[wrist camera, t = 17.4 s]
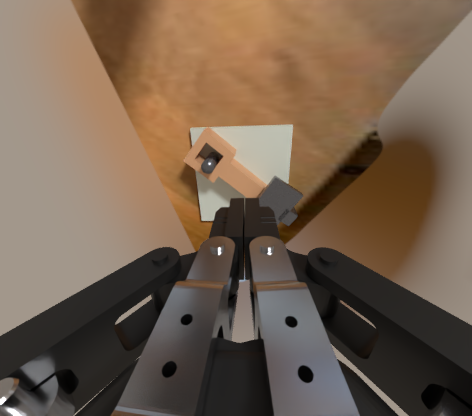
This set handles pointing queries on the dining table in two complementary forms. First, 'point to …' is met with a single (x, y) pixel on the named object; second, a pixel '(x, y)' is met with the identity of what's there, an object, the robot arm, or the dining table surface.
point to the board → (244, 161)
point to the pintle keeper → (268, 194)
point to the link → (224, 165)
